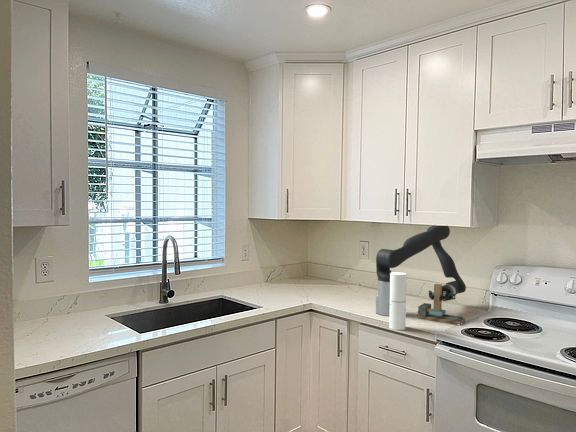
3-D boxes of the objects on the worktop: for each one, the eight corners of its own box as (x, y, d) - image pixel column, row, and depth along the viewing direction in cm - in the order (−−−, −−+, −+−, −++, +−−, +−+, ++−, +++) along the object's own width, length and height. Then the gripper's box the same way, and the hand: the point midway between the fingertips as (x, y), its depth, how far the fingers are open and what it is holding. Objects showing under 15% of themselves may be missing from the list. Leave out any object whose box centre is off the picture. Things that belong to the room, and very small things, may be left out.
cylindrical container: (398, 331, 190) (399, 275, 190) (385, 327, 196) (386, 273, 195) (408, 328, 195) (409, 273, 194) (396, 324, 200) (397, 271, 199)
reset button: (424, 313, 213) (424, 308, 213) (426, 312, 215) (426, 307, 215) (430, 314, 211) (430, 309, 211) (432, 313, 213) (432, 308, 213)
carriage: (428, 314, 209) (429, 284, 209) (433, 311, 215) (434, 282, 214) (441, 316, 206) (442, 286, 205) (445, 313, 211) (446, 284, 211)
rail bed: (418, 318, 211) (418, 306, 211) (424, 314, 219) (424, 303, 218) (460, 325, 199) (460, 313, 199) (465, 321, 207) (465, 309, 206)
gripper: (432, 283, 225) (421, 288, 212) (460, 286, 217) (451, 292, 203) (432, 297, 226) (421, 303, 212) (460, 301, 217) (450, 308, 203)
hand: (435, 298), depth 208 cm, fingers open, 3 cm apart
